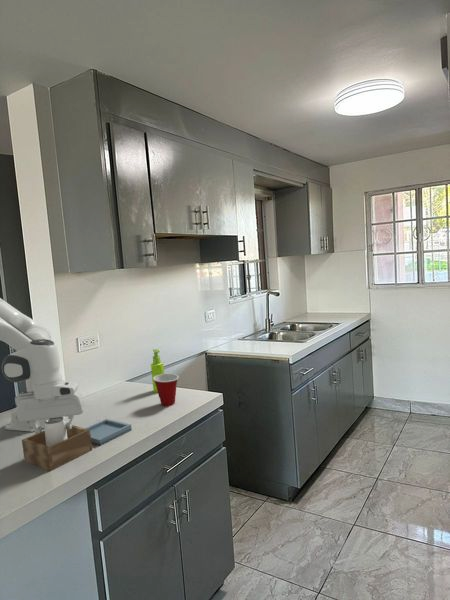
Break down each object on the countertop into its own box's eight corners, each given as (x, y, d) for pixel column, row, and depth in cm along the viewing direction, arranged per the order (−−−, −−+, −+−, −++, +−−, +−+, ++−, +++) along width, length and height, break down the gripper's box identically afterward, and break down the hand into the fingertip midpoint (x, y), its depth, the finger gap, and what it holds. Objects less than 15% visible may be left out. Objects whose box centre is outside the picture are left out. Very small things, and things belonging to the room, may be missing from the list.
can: (64, 459, 130) (59, 423, 129) (44, 460, 130) (39, 424, 129) (72, 450, 137) (68, 415, 136) (53, 451, 137) (48, 417, 136)
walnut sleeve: (24, 460, 132) (21, 439, 131) (65, 441, 144) (63, 422, 143) (50, 471, 123) (47, 448, 122) (92, 450, 135) (89, 429, 135)
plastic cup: (175, 408, 168) (172, 380, 167) (151, 408, 171) (148, 380, 170) (185, 399, 178) (182, 372, 177) (162, 399, 181) (159, 372, 180)
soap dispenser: (155, 393, 190) (151, 351, 188) (152, 390, 196) (148, 349, 194) (168, 391, 192) (163, 349, 190) (164, 387, 198) (160, 347, 196)
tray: (75, 438, 146) (74, 432, 146) (107, 423, 158) (106, 418, 157) (100, 445, 138) (99, 440, 138) (131, 429, 149) (131, 424, 149)
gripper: (10, 396, 127) (16, 439, 128) (78, 388, 129) (83, 429, 131) (17, 390, 133) (23, 431, 134) (82, 382, 136) (87, 422, 137)
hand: (53, 430), depth 132 cm, fingers open, 8 cm apart
